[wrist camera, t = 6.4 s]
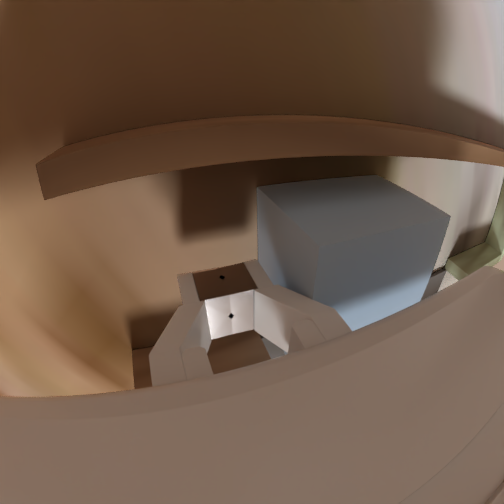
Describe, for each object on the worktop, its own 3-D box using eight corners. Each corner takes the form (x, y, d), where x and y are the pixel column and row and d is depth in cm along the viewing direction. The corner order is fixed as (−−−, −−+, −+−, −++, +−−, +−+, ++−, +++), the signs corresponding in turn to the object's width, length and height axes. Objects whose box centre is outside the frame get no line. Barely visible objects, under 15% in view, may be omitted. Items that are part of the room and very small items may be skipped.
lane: (63, 146, 7) (35, 164, 5) (511, 152, 16) (531, 161, 14) (155, 392, 15) (161, 427, 13) (474, 274, 24) (488, 286, 22)
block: (256, 186, 10) (319, 246, 7) (376, 174, 12) (450, 215, 8) (258, 305, 13) (298, 377, 10) (357, 276, 15) (407, 328, 11)
